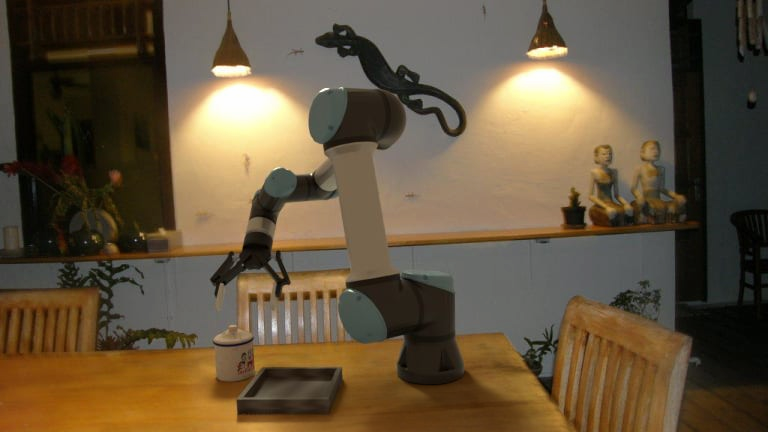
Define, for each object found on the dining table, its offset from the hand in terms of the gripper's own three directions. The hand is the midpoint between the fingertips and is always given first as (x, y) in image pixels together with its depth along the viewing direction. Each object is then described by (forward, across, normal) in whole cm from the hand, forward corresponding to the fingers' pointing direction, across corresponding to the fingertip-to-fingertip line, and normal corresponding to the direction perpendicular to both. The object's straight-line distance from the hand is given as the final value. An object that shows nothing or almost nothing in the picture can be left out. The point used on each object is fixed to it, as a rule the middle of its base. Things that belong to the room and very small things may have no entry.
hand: (244, 308), depth 149 cm
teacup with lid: (+16, -1, -3) cm, 16 cm away
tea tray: (+25, -17, +7) cm, 31 cm away
